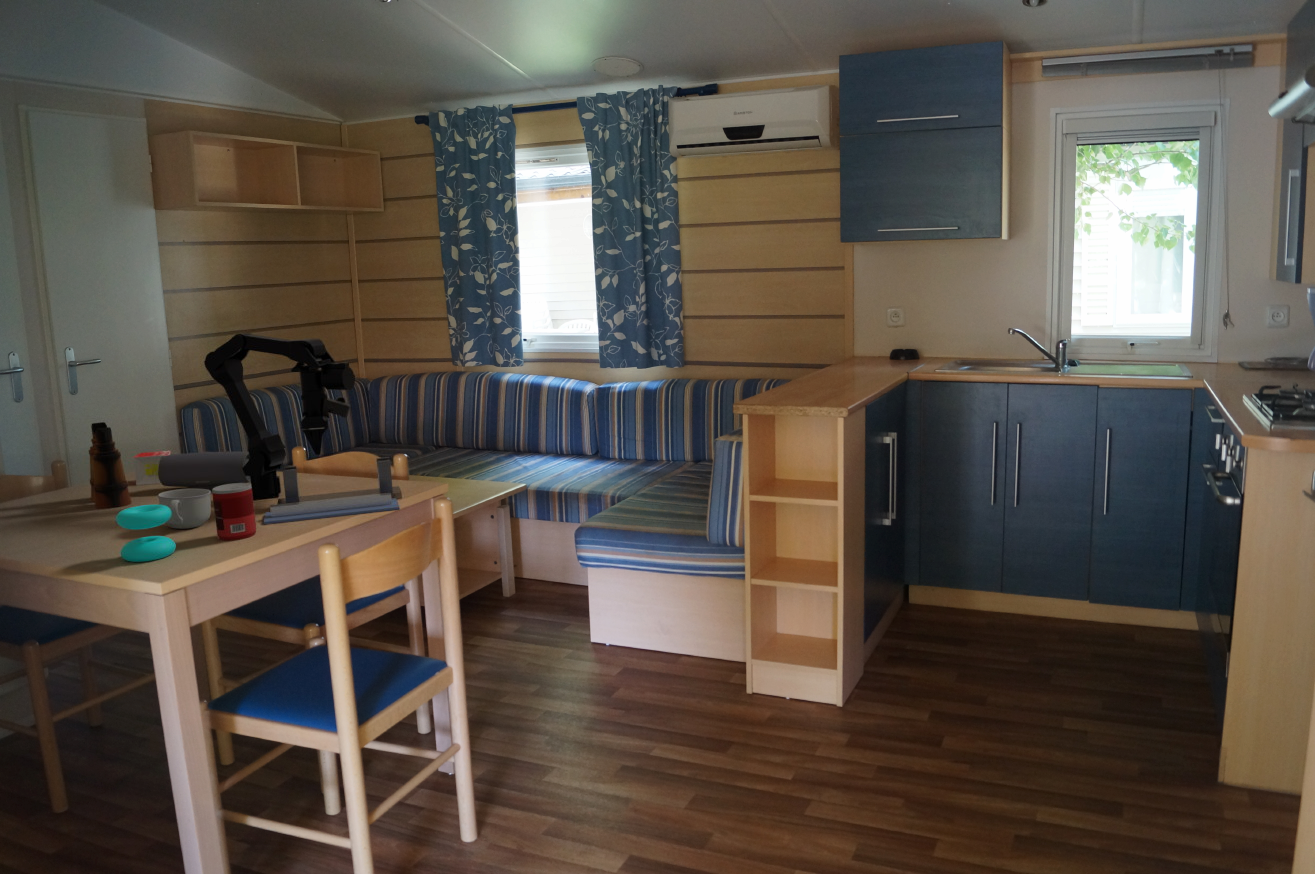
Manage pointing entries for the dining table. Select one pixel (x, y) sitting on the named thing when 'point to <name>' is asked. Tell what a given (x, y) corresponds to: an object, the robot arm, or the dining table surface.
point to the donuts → (149, 545)
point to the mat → (330, 513)
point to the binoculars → (106, 470)
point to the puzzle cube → (148, 467)
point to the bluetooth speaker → (203, 469)
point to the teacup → (187, 507)
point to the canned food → (234, 511)
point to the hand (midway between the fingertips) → (318, 451)
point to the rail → (330, 504)
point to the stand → (384, 487)
